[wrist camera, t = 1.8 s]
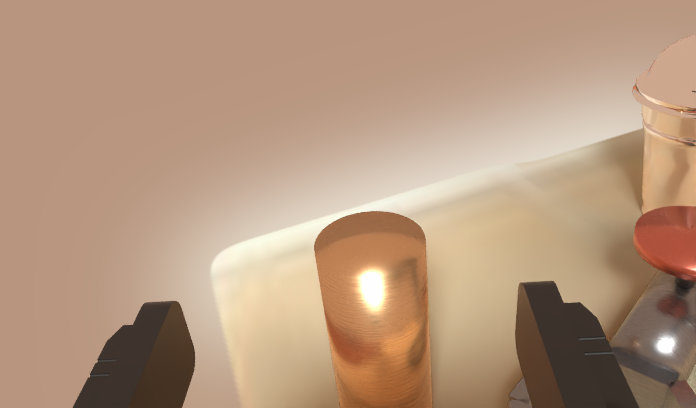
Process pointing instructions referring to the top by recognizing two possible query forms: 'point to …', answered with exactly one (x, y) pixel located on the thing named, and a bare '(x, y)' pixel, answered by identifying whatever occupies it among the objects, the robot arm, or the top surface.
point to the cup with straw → (669, 127)
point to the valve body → (657, 315)
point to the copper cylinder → (376, 309)
